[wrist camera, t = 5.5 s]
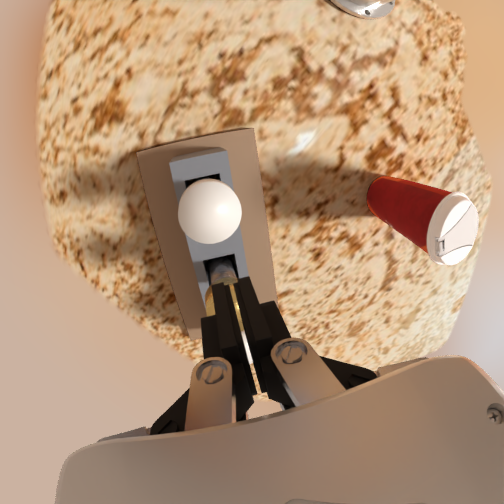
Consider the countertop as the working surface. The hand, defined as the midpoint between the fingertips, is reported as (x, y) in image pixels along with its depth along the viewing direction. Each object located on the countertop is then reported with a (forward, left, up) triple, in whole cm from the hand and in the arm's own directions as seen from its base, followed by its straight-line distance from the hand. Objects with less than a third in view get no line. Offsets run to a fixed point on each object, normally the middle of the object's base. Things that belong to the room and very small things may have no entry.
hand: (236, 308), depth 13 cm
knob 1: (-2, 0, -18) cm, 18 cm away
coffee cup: (+4, +24, -23) cm, 33 cm away
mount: (+6, 0, -23) cm, 23 cm away
